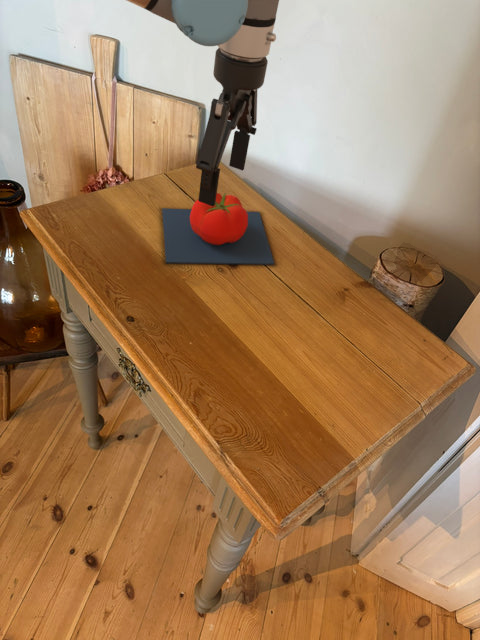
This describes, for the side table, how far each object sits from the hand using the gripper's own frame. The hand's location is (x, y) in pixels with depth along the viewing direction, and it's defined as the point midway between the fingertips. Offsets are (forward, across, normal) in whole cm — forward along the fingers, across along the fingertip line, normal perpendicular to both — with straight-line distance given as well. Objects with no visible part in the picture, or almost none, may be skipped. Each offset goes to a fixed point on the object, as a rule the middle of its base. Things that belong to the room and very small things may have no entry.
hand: (222, 184), depth 81 cm
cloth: (+12, 0, 0) cm, 12 cm away
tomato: (+11, 0, 0) cm, 11 cm away
